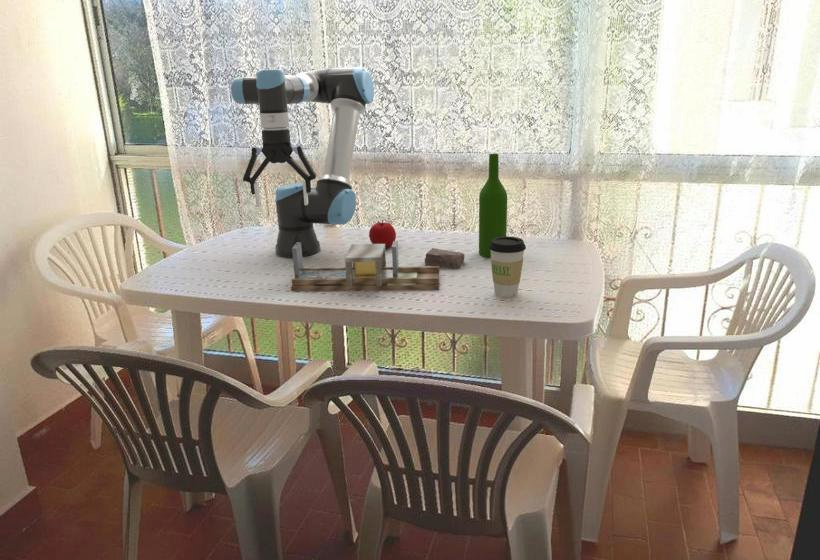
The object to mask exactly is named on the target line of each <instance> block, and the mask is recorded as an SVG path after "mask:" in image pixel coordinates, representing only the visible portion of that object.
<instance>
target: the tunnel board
mask: <svg viewBox="0 0 820 560" xmlns="http://www.w3.org/2000/svg"><path fill="white" fill-rule="evenodd" d="M354 262H375V269H376V278H353V273H352V270H355V263H354ZM344 264H345V265H344V266H345V267H342V266H340V267H339V266H338V267H337V266H336V267H333V266H332V267H303V270H346V278H318V279H295V278H292V279H291V286H290V291H291V292H302V291H304V292H313V291H314V292H315V291H316V292H318V291H319V292H320V291H321V292H323V291H324V292H325V291H326V292H327V291H330V292H331V291H333V292H335V291H417V290H418V291H421V290H423V291H430V290H431V291H433V290H440V267H439V266H426V265H425V266H421V265H420V266H419V265H418V266H399V274H398V278H382V270H393V266H387V259H386V248H385V244H372V243H364V244H363V243H352V244H351V245H350V247H349V249H348V251H347V253H346V256H345V257H344Z"/></svg>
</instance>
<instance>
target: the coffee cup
mask: <svg viewBox="0 0 820 560" xmlns="http://www.w3.org/2000/svg"><path fill="white" fill-rule="evenodd" d="M526 247H527V246H526V243H525V242H524V239H522V238H520V237H517V236H507V235H506V237H497V238H494V239H492V240H491V243H490V244H489V249H490V251H491V258H490V265H491V273H492V274H491V275H492V282H493V287H494V295H495V296H497V297H500V298H513V297H517V296H518V293H519V285H520V282H521V276H522V271H523V263H524V252H525V250H526Z"/></svg>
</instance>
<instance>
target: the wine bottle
mask: <svg viewBox="0 0 820 560" xmlns="http://www.w3.org/2000/svg"><path fill="white" fill-rule="evenodd" d="M499 169H500V168H499V154H498V153H490V154H488V178H487V180H486V182H485V184H484V185H483V186H482V188H481V189H480V192H479V195H478V196H479V199H478V207H479V208H478V254H479V256H481V257H483V258H487V259H491V251H490V249H489V244H490V243H491V240H492V239H494V238H497V237H506V236H507V229H508V228H507V225H508V224H507V223H508V221H507V220H508V193H507V190H506V189H505V187H504V185H503V183H502V182H501V179H500V177H499V171H500V170H499Z"/></svg>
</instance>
